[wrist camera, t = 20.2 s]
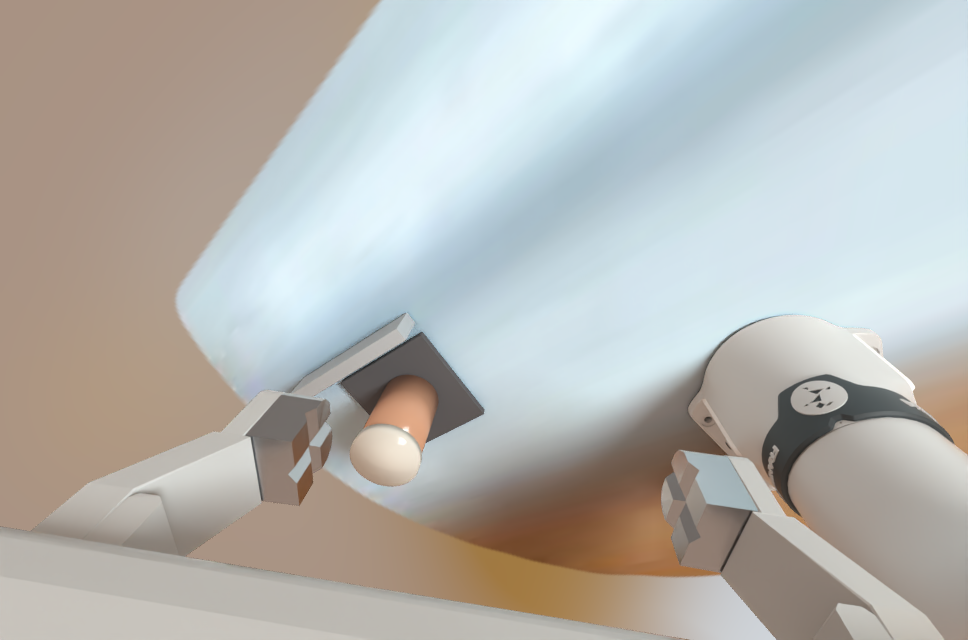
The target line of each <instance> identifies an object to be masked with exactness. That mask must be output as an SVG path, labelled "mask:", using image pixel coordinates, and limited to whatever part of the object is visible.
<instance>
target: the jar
mask: <svg viewBox="0 0 968 640" xmlns="http://www.w3.org/2000/svg"><path fill="white" fill-rule="evenodd" d="M438 403H439V399H438V394H437V392H436V390H435V388H434V387H433V386H432V385H431V384H430V383H429V382H428V381H426V380H425V379H423V378H421V377H418V376H414V375H401V376H397V377H395V378H393V379H392V380H391V381H390V382H389V383H388V384H387V386H386V388H385V389H384V391H383V393H382V395H381V397H380V399H379V400H378V402H377V404H376V406H375V408H374V409H373V411H372V413H371V415H370V417H369V419H368V420H367V422H366V424H365V426H364V428H363V429H362V430H361V431H360V432H359V433H358V435H357V436H356V438H355V440H354V442H353V443H352V445H351V448H350V460H351V462H352V465H353V466H354V468H355V469H356V471H357V472H358V473H359V474H360V475H362V476H363V477H364V478H366V479H367V480H369V481H371V482H373V483H376V484H378V485H383V486H400V485H404V484H406V483H408V482H410V481H411V480H412V479H413V478H414V477H415V476H416V474H417V472H418V470H419V467H420V464H421V460H422V451H423V448H424V446H425V443H426V440H427V437H428V434H429V431H430V428H431V425H432V422H433V419H434V416H435V413H436V410H437V407H438Z"/></svg>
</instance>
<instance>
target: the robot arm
mask: <svg viewBox="0 0 968 640" xmlns="http://www.w3.org/2000/svg"><path fill="white" fill-rule="evenodd" d="M914 389H915V386H914V385H913V383H912V382H911V381H910V380H909V379H908V378H907V377H906V376H905V375H903V374H902V373H901V372H900V371H899V370H897V369H896V368H895V367H894V366H893V365H891V364H890V363H889V362H888V361H887V360H886V359H884V358H883V349H882V340H881V338H880V337H879V336H878V335H877V334H876V333H875V332H874V331H872V330H870V329H865V328H843V327H839V326H836V325H834V324H832V323H829V322H827V321H825V320H822V319H819V318H816V317H811V316H805V315H784V316H777V317H772V318H768V319H765V320H762V321H759V322H756V323H754V324H752V325H749V326H747V327H745V328H744V329H742V330H740V331H739V332H737V333H736V334H734V335H733V336H732V337H730V338H729V339H728V340H727V341H726V342H725V343H724V344H723V345H722V346H721V347H720V348H719V349H718V350H717V351H716V353H715V354H714V356H713V357H712V359H711V360H710V362H709V364H708V367H707V369H706V372H705V376H704V380H703V384H702V387H701V390H700V391H699V393H698V394H697V395H696V396H695V398H694V399H693V400H692V402H691V403H690V405H689V407H688V413H689V415H690V416H691V417H692V419H693V420H694V421H695V422H696V423H697V424H698V425H699V426H700V427H701V428H702V429H703V430H704V431H705V432H706V433H707V434H708V435H709V436H710V437H711V438H712V439H713V440H714V441H715V442H716V443H717V444H718V445H719V446H720V447H721V448H722V450H723V451H724V452H725V453H726V454H727V455H728V456H726V455H724V456H721V455H714V454H706V453H699V452H692V451H685V450H677V452H676V453H675V454H674V456H673V459H672V461H671V464H672V467H673V470H674V472H673V473H672V474H670V475H669V476H667V477H666V478H665V481H664V484H663V487H662V495H661V504H662V511H663V514H664V517H665V520H666V521H667V522H668V523H669V524H670V525H671V526H672V527H673V528H674V531H673V534H672V536H671V540H672V543H673V546H674V549H675V552H676V555H677V558H678V561H679V564H680V565H681V566H687V567H692V568H698V569H703V570H708V571H714V572H719V573H721V576H722V577H723V578H724V579H725V580H726V582H727V583H728V584H729V585H730V586H731V587H732V589H733V590H734V591H735V592H736V593H737V594H738V596H739V597H740V598H741V599H742V600H743V601H744V602H745V604H746V605H747V606H748V607H749V608H750V609H751V611H752V612H753V613H754V614H755V615H756V616H757V618H758V619H759V620H760V621H761V622H762V623H763V624H764V625H765V627H766V628H767V629H768V630H769V631H770V633H771V634H772V635H773V636H774V637H775V638H776V640H968V455H967V454H966V453H964V452H963V451H962V450H961V449H959V448H958V447H957V446H955V444H954V442H953V440H952V438H951V437H950V435H949V434H948V433H947V432H946V431H945V429H944V428H943V427H941V426H940V425H939V424H938V422H937V421H936V420H935V419H934V418H933V417H932V416H931V415H930V414H928V413H927V412H926V411H925V410H923V409H922V408H921V407H919V406H917V405H916V401H915V399H914V394H913V390H914ZM330 414H331V412H330V403H329V401H327V400H326V399H322V398H316V397H310V396H304V395H298V394H292V393H284V392H279V391H272V390H264V391H261V392H260V393H259V394H258V395H257V396H256V397H255V398H254V399H253V400H252V401H251V402H250V403H249V404H248V405H247V406H246V407H245V408H244V409H243V410H242V411H241V412H240V413H239V414H238V415H237V416H236V417H235V418H234V419H233V420H232V421H231V422H230V423H229V424H228V425H227V426H226V427H225V428H224V429H223V430H222V431H221V432H215V431H214V432H211V433H209V434H206V435H204V436H201V437H199V438H197V439H194V440H192V441H189V442H187V443H184V444H182V445H179V446H177V447H175V448H172V449H170V450H168V451H165V452H162V453H160V454H158V455H155V456H153V457H150V458H148V459H145V460H143V461H141V462H138V463H136V464H133V465H131V466H128V467H126V468H123V469H121V470H118V471H116V472H113V473H111V474H109V475H106V476H104V477H102V478H99V479H96V480H94V481H91V482H89V483H88V484H86V485H85V486H84V487H83V488H82V489H80V490H79V491H78V492H77V493H76V494H74V495H73V496H72V497H71V498H70V499H68V500H67V501H66V502H65V503H64V504H62V505H61V506H60V507H59V508H58V509H56V510H55V511H54V512H53V513H51V514H50V515H49V516H48V517H47V518H45V519H44V520H43V521H42V522H41V523H40V524H38V525H37V526H36V527H35V528H34V529H32V530H31V531H26V530H20V529H14V528H7V527H1V526H0V640H688V639H682V638H676V637H670V636H663V635H658V634H652V633H646V632H640V631H634V630H627V629H622V628H615V627H609V626H603V625H597V624H591V623H585V622H579V621H573V620H566V619H561V618H555V617H549V616H542V615H536V614H530V613H524V612H518V611H512V610H506V609H500V608H494V607H488V606H482V605H476V604H470V603H463V602H458V601H452V600H446V599H439V598H433V597H427V596H421V595H414V594H409V593H403V592H396V591H391V590H385V589H379V588H372V587H366V586H361V585H354V584H348V583H342V582H336V581H330V580H324V579H318V578H312V577H306V576H300V575H294V574H288V573H282V572H275V571H269V570H263V569H257V568H251V567H245V566H239V565H233V564H226V563H221V562H214V561H209V560H203V559H196V558H190V557H185V556H187V555H188V554H189V553H191V552H192V551H194V550H195V549H197V548H198V547H199V546H201V545H202V544H204V543H205V542H206V541H208V540H209V539H211V538H212V537H214V536H215V535H217V534H218V533H220V532H221V531H222V530H224V529H225V528H227V527H228V526H229V525H231V524H232V523H234V522H235V521H237V520H238V519H240V518H241V517H243V516H244V515H245V514H247V513H248V512H250V511H251V510H253V509H254V508H255V507H257V506H258V505H260V504H261V503H262V501H266V502H273V503H281V504H289V505H298V506H299V505H300V504H301V502H302V500H303V499H304V497H305V496H306V494H307V492H308V491H309V489H310V487H311V486H312V484H313V475H312V474H313V473H314V472H316V471H318V470H320V469H321V468H322V467H323V465H324V464H325V462H326V460H327V458H328V455H329V452H330V449H331V443H332V428H331V427H330V426H329V425H328V424H327V422H326V420H327V418H328V417H329V415H330ZM706 417H709V418H707V419H705V418H706ZM770 490H774V491H777V493H778V494H779V495H780V497H781V498H782V499H783V500H784V501H785V502H786V503H787V504H788V505H789V507H790V508H791V509H792V510H793V511H794V512H795V513H797V514H798V515H799V516H801V517H802V518H803V519H804V521H805V522H806V524H807V525H808V527H809V528H810V529H809V528H807V527H806V526H805V525H803V524H802V523H801V522H799V521H798V520H797V519H795V518H793V517H787V516H786V515H785V513H784V512H783V510H782V508H781V507H780V505H779V504H778V502H777V500H776V499H775V497H774V496H773V494H772V493H771V491H770Z"/></svg>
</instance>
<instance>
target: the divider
mask: <svg viewBox="0 0 968 640" xmlns="http://www.w3.org/2000/svg"><path fill="white" fill-rule="evenodd" d="M414 325H415V322H414V321H413V319H412V318H411V317H410V316H409V314H408V313H405V314H403V315H402V316H400V317H399V318H397V319H396V320H394V321H392V322H391V323H389V324H388V325H386V326H384V327H383V328H381V329H380V330H378V331H377V332H375V333H373V334H372V335H370V336H369V337H367V338H366V339H364V340H362V341H361V342H359V343H358V344H356V345H354V346H353V347H351V348H350V349H348V350H347V351H345V352H343V353H342V354H340V355H339V356H337V357H335V358H334V359H332V360H331V361H329V362H328V363H326V364H324V365H323V366H321V367H320V368H318V369H316V370H315V371H313V372H312V373H310V374H309V375H307V376H305V377H304V378H303V379H302V380H301V381H300V383H299V384H298V385H297V386H296V387H295V388H294V390H293V391H292V392H291V393H292V394H298V395H304V396H310V397H313V396H315V395H316V394H318V393H319V392H321V391H323V390H324V389H326V388H328V387H329V386H331V385H333V384H334V383H336V382H338V381H339V380H341V379H343V378H344V377H346V376H348V375H349V374H351V373H352V372H354V371H356V370H357V369H359V368H361V367H362V366H364V365H366V364H367V363H369V362H371V361H372V360H374V359H376V358H377V357H379V356H381V355H382V354H384V353H385V352H387V351H389V350H390V349H392V348H394V347H395V346H397V345H399V344H400V343H402V342H404V341H405V340H406V339H407V337H408V335H409V334H410V332H411V330H412V328H413V326H414Z"/></svg>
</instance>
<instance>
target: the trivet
mask: <svg viewBox="0 0 968 640" xmlns="http://www.w3.org/2000/svg"><path fill="white" fill-rule="evenodd" d="M401 375H414V376H418V377H421V378H423V379H425V380H426V381H428V382H429V383H430V384H431V385H432V386H433V387H434V388H435V390H436V392H437V394H438V399H439V403H438V407H437V410H436V413H435V416H434V419H433V422H432V425H431V428H430V431H429V434H428V437H427V440H426V443H427V442H429V441H431V440H433V439H435V438H437V437H439V436H441V435H443V434H445V433H447V432H449V431H451V430H453V429H455V428H457V427H459V426H461V425H463V424H465V423H467V422H469V421H471V420H473V419H475V418H477V417H479V416H481V415H483V414H484V409H483V407H482V406H481V405H480V404H479V402H478V401H477V400H476V399H475V397H474V396H473V395H472V394H471V392H470V391H469V390H468V389H467V387H466V386H465V385H464V384H463V382H462V381H461V380H460V379H459V377H458V376H457V375H456V373H455V372H454V371H453V370H452V368H451V367H450V366H449V365H448V363H447V362H446V361H445V360H444V358H443V357H442V356H441V355H440V353H439V352H438V351H437V350H436V348H435V347H434V346H433V345H432V343H431V342H430V341H429V340H428V338H427V337H426V336H425V334H424V333H423V332H421V333H420V334H418V335H416V336H415V337H413V338H411V339H410V340H408V341H406V342H405V343H403V344H401V345H400V346H398V347H397V348H395V349H393V350H392V351H390V352H388V353H387V354H385V355H383V356H382V357H380V358H378V359H377V360H375V361H373V362H372V363H370V364H368V365H367V366H365V367H363V368H362V369H360V370H358V371H357V372H355V373H354V374H352V375H350V376H349V377H347V378H345V379H344V380H343V381H342V382H341V384H342V385H343V386H344V387H345V388H346V389H347V391H348V392H349V393H350V394H351V395H352V396H353V397H354V398H355V399H356V401H357V402H358V403H359V404H360V405H361V406H362V407H363V408H364V409H365V410H366V412H367V413H368V414H369V415H371V413H372V411H373V409H374V408H375V406H376V404H377V402H378V400H379V399H380V397H381V395H382V393H383V391H384V389H385V388H386V386H387V384H388V383H389V382H390V381H391V380H392V379H393V378H395V377H397V376H401Z"/></svg>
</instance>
